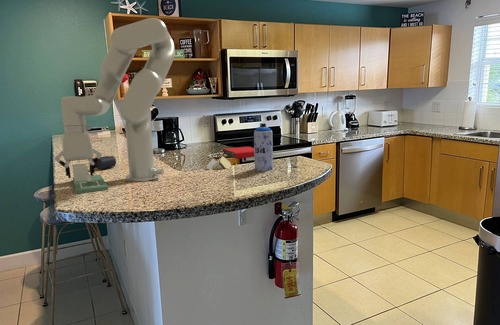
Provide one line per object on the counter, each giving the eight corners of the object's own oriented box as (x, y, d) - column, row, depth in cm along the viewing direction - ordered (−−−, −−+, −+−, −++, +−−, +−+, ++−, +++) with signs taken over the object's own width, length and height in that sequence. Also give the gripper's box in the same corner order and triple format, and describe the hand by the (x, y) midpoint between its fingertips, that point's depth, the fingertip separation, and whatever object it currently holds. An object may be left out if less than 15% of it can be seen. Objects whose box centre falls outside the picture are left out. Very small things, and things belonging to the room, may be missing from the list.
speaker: (110, 166, 170) (91, 170, 163) (108, 155, 170) (89, 158, 162) (118, 166, 166) (99, 170, 159) (116, 155, 166) (97, 158, 158)
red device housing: (223, 158, 187) (223, 148, 186) (248, 155, 193) (248, 146, 192) (235, 163, 171) (235, 152, 170) (262, 160, 177) (262, 150, 176)
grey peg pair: (86, 183, 129) (85, 173, 129) (91, 182, 130) (90, 173, 129) (87, 185, 126) (86, 176, 125) (92, 185, 126) (91, 175, 126)
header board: (73, 180, 140) (72, 177, 140) (100, 177, 145) (100, 174, 145) (76, 193, 120) (76, 190, 119) (108, 189, 124) (107, 186, 124)
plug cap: (73, 177, 139) (72, 163, 138) (87, 176, 142) (85, 162, 141) (74, 181, 133) (73, 166, 132) (88, 180, 135) (87, 165, 134)
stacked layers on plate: (220, 182, 152) (229, 175, 150) (206, 166, 150) (215, 159, 148) (226, 173, 161) (235, 166, 159) (213, 158, 159) (221, 151, 157)
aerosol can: (250, 173, 145) (249, 123, 142) (259, 169, 152) (258, 122, 148) (268, 174, 141) (267, 124, 138) (276, 171, 148) (275, 122, 145)
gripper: (99, 128, 141) (103, 172, 144) (49, 130, 133) (55, 177, 136) (101, 129, 135) (106, 175, 138) (49, 132, 127) (55, 181, 130)
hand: (80, 176), depth 137 cm, fingers open, 7 cm apart
